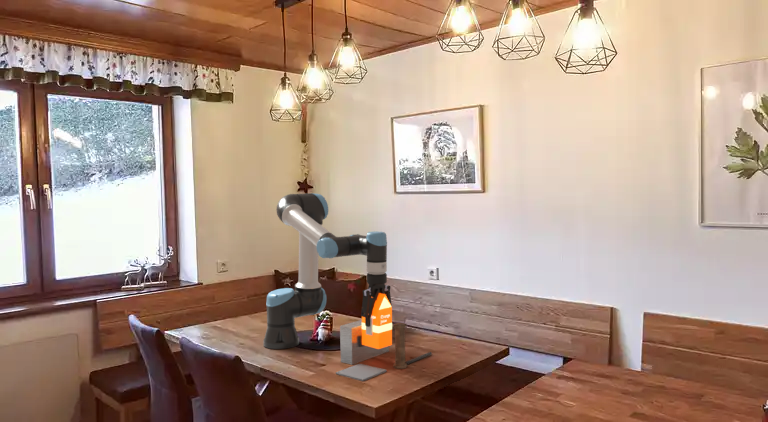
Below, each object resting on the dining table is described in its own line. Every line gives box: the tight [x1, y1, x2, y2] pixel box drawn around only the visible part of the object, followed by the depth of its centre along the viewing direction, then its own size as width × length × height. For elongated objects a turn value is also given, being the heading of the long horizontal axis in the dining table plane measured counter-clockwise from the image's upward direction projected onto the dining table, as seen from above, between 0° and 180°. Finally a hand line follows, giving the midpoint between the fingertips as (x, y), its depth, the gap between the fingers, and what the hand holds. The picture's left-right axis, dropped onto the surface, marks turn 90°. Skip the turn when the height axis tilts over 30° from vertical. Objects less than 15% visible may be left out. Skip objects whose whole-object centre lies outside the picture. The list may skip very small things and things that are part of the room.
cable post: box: [392, 322, 408, 370], centre depth 215 cm, size 5×5×16 cm
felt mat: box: [335, 363, 387, 382], centre depth 209 cm, size 13×13×1 cm
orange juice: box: [361, 293, 393, 349], centre depth 219 cm, size 8×9×20 cm
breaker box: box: [339, 319, 390, 366], centre depth 228 cm, size 7×22×14 cm, turn 141°
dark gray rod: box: [405, 351, 433, 366], centre depth 223 cm, size 1×16×1 cm, turn 140°
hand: (376, 332), depth 219 cm, fingers closed on orange juice, 8 cm apart
